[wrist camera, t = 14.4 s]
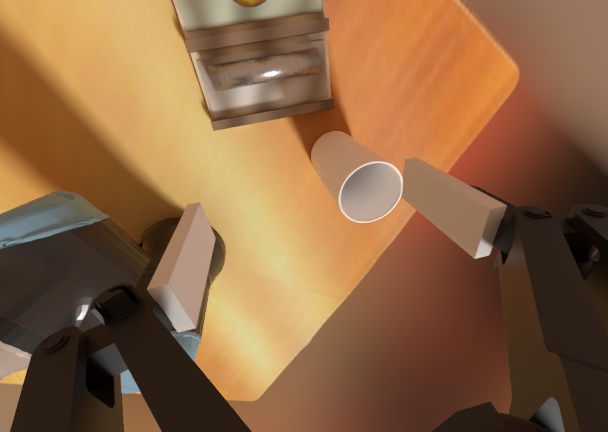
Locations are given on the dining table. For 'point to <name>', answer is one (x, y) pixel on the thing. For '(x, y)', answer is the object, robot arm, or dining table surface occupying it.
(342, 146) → the cup
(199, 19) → the rack
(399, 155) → the dining table surface
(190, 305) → the robot arm
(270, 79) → the rod
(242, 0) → the fruit
